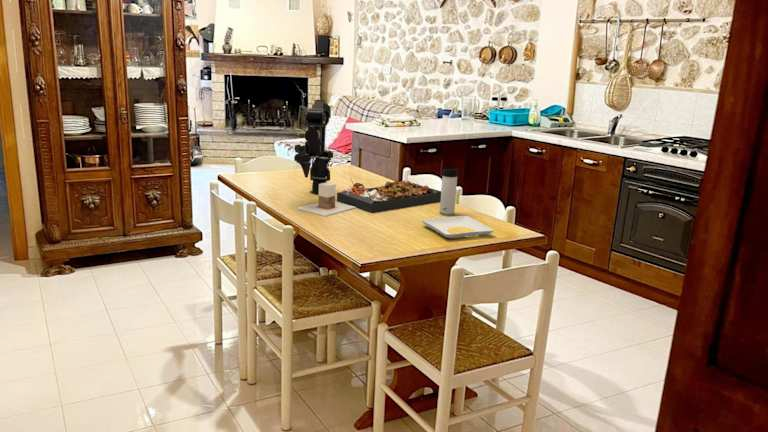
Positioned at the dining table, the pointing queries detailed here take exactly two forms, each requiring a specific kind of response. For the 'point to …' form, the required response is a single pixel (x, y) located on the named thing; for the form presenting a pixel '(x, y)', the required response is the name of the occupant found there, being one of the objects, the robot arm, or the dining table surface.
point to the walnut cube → (326, 202)
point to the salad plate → (457, 221)
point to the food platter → (388, 196)
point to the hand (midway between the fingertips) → (313, 176)
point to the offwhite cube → (327, 189)
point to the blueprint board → (326, 212)
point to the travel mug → (448, 191)
